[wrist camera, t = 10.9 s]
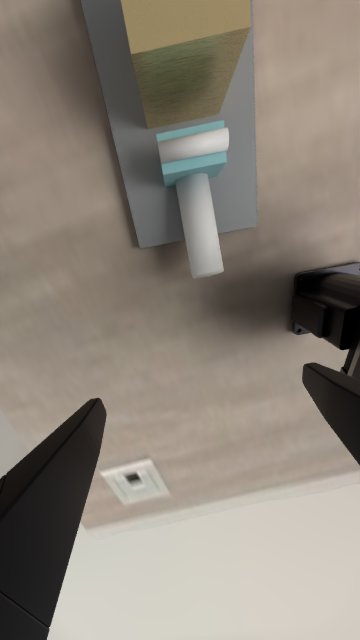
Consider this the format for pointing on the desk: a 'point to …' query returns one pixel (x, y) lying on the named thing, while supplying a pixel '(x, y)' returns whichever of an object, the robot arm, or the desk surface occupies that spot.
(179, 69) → the block
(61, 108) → the desk surface
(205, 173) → the coupling stand
